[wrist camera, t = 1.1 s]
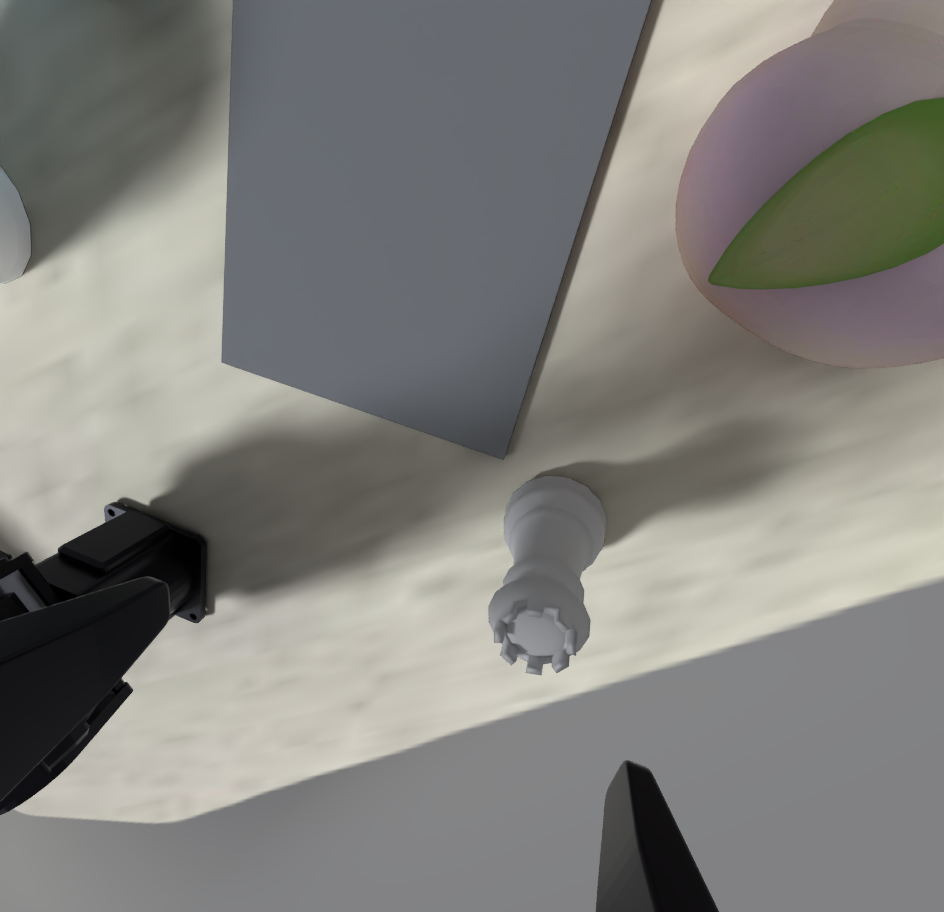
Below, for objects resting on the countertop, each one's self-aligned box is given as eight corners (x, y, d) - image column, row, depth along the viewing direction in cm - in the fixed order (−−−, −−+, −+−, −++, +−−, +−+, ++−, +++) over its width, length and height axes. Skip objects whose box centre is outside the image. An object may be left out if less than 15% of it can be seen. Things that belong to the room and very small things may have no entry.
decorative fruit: (755, 389, 18) (921, 519, 9) (614, 215, 17) (634, 155, 8) (1064, 181, 14) (1969, 19, 5) (902, -62, 13) (1647, -860, 4)
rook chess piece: (498, 543, 23) (452, 672, 16) (517, 459, 21) (475, 561, 14) (591, 569, 22) (588, 717, 15) (619, 485, 20) (631, 607, 13)
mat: (504, 456, 21) (503, 459, 21) (227, 360, 23) (221, 362, 22) (653, -7, 14) (655, -14, 14) (244, -95, 16) (236, -103, 16)
